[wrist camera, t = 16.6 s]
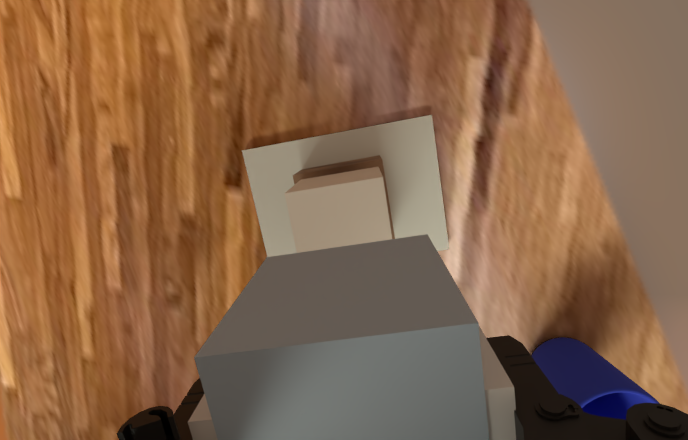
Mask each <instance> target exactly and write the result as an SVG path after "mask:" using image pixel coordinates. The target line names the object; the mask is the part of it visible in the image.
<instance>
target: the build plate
mask: <svg viewBox="0 0 688 440" xmlns="http://www.w3.org/2000/svg"><path fill="white" fill-rule="evenodd" d="M242 153H243V157H244V161H245V165H246V169H247V174H248V178H249V182H250V186H251V190H252V195H253V199H254V203H255V207H256V211H257V215H258V220H259V224H260V228H261V232H262V236H263V241H264V245H265V249H266V253H267V257H272V256H279V255H286V254H293V253H297V251H296V246H295V242H294V237H293V232H292V227H291V223H290V218H289V213H288V208H287V203H286V199H285V194H284V193H285V192H287V191H288V190H289V189H290V188H291V187H293V186H294V185H295V184H294V180H293V175H294V174H296V173H297V172H299V171H300V170H301V169H307V168H312V167H317V166H323V165H328V164H334V163H339V162H345V161H350V160H356V159H361V158H367V157H372V156H378V155H380V157H381V158H382V161H383V167H384V173H385V179H386V186H387V192H388V198H389V204H390V210H391V217H392V223H393V229H394V235H395V239H397V238H404V237H411V236H418V235H425V234H428V236H429V238H430V240H431V241H432V243H433V245H434V247H435V248H436V250H437V251H441V250H448V249H449V243H448V236H447V228H446V220H445V212H444V205H443V197H442V189H441V182H440V174H439V166H438V158H437V151H436V143H435V135H434V128H433V120H432V115H428V116H422V117H417V118H412V119H406V120H401V121H396V122H391V123H385V124H380V125H375V126H369V127H364V128H359V129H354V130H348V131H343V132H338V133H332V134H327V135H322V136H317V137H311V138H306V139H301V140H295V141H290V142H285V143H279V144H274V145H269V146H264V147H258V148H253V149H248V150H242Z"/></svg>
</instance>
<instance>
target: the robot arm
mask: <svg viewBox="0 0 688 440" xmlns="http://www.w3.org/2000/svg"><path fill="white" fill-rule="evenodd" d="M479 336H480V346H481V357H482V368H483V378H484V389H485V400H486V410H487V421H488V432H489V440H688V414H686V413H684V412H682V411H680V410H678V409H675V408H673V407H669V406H666V405H662V404H658V403H640V404H634V405H633V406H632V407H630V408H629V409H628V410H627V414H626V420H625V419H618V418H610V417H602V416H597V415H592V414H589V413H586V412H584V411H583V410H582V408H581V406H580V405H578V404H577V403H576V402H575V401H574V400H572V399H570V398H568V397H566V396H564V395H562V394H558V392H557V391H556V389H555V388H554V387H553V385H552V384H551V383H550V381H549V380H548V378H547V377H546V376H545V374H544V373H543V372H542V370H541V369H540V367H539V366H538V365H537V364H536V362H535V361H534V359H533V358H532V356H530V354H529V352H528V351H527V350H526V348H525V347H524V345H523V344H522V343H521V342H519V341H517V340H516V339H514V338H512V337H511V336H509V335H508V336H500V337H492V338H486V337H485V335H484V334H483V332H482V330H481V328H480V327H479ZM117 435H118V438H119V440H218V439H217V435H216V432H215V428H214V425H213V421H212V418H211V414H210V411H209V407H208V404H207V400H206V397H205V394H204V390H203V387H202V383H201V380H200V378H199V379H198V380H197V381H196V382H195V383H194V384H193V386H192V387H191V389H190V390H189V392H188V393H187V396H185V398H184V399H183V401H182V403H181V405H180V406H179V407H178V409H177V410H176V412H175V413H174V415H173V411H172V410H171V409H170V408H169V407H165V406H158V407H153V408H149V409H147V410H144V411H142V412H139V413H138V414H136V415H135V416H133V417H131V418H130V419H129V420H128V421H127V422H126V423H124V424H123V425H122V426H121V428H120V429H119V431H118V433H117Z"/></svg>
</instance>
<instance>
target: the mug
mask: <svg viewBox="0 0 688 440" xmlns="http://www.w3.org/2000/svg"><path fill="white" fill-rule="evenodd" d="M532 358H533V359H534V361H535V362H536V364H537V365H538V366H539V367H540V369H541V370H542V372H543V373H544V374H545V376H546V377H547V378H548V380H549V381H550V383H551V384H552V385H553V387H554V388H555V389H556V391H557V392H558V394H562V395H564V396H566V397H568V398H570V399H572V400H574V401H575V402H576V403H577V404H578V405H580V406H581V408H582V410H583V411H584V412H586V413H589V414H592V415H597V416H602V417H610V418H618V419H625V420H626V414H627V410H628V409H629V408H630V407H632V406H633V405H634V404H640V403H658V404H660V403H659V402H658V401H657V400H656V399H655V398H654V397H652V396H651V395H650V394H648V393H647V392H646V391H645V390H643V389H642V388H641V387H640V386H638V385H637V384H636V383H635V382H633V381H632V380H631V379H629V378H628V377H627V376H626V375H624V374H623V373H622V372H621V371H619V370H618V369H617V368H616V367H614V366H613V365H612V364H610V363H609V362H608V361H607V360H605V359H604V358H603V357H602V356H600V355H599V354H598V353H597V352H595V351H594V350H593V349H591V348H590V347H589V346H587V345H586V344H584V343H582V342H580V341H578V340H575V339H572V338H564V337H562V338H554V339H551V340H548V341H546V342H544V343H543V344H541V345H540V346H539V347H538V348H537V349H536V350H535V351H534V352H533V354H532Z"/></svg>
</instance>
